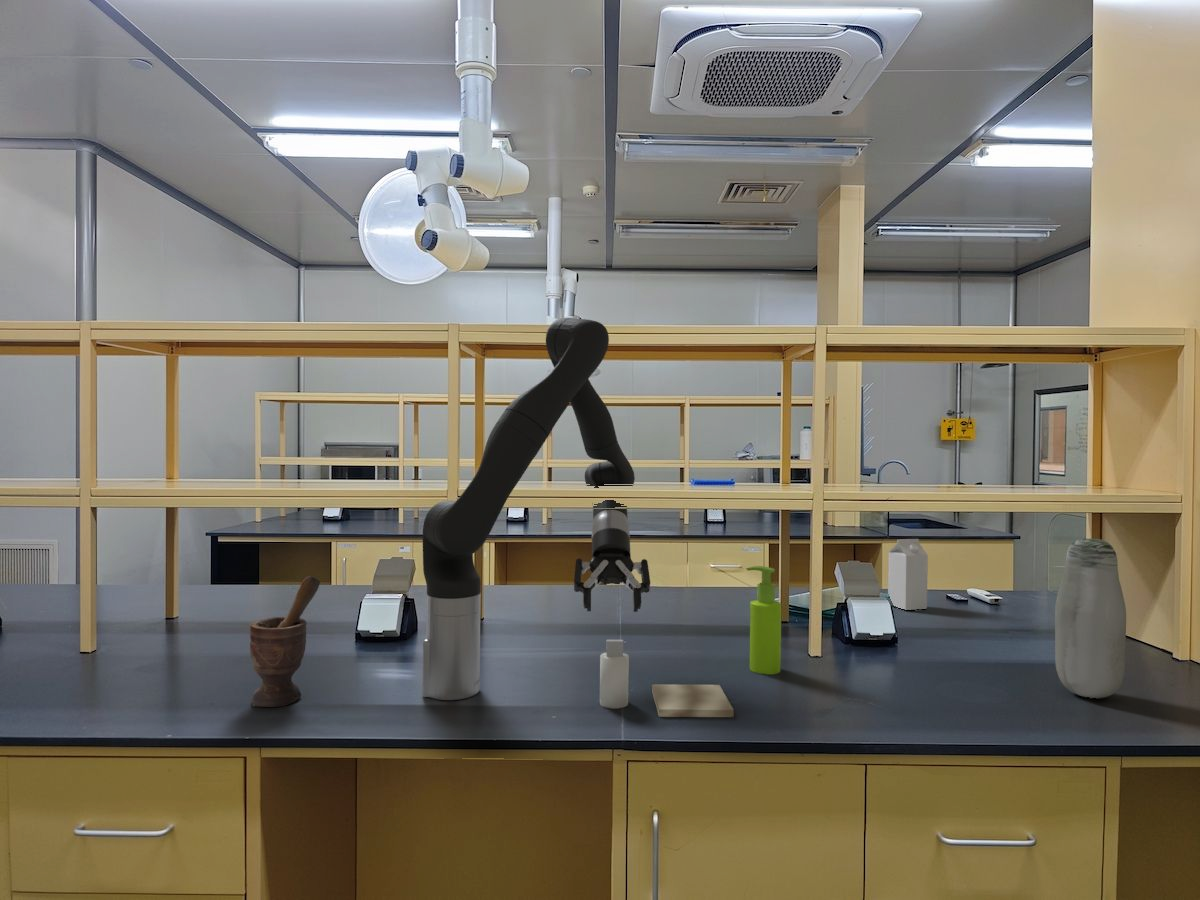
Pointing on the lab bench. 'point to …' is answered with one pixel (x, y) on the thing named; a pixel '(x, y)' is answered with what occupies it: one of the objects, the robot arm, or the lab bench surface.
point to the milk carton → (908, 575)
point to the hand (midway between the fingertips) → (612, 609)
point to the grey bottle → (1090, 621)
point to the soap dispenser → (765, 626)
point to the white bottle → (614, 675)
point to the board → (691, 701)
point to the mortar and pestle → (281, 650)
